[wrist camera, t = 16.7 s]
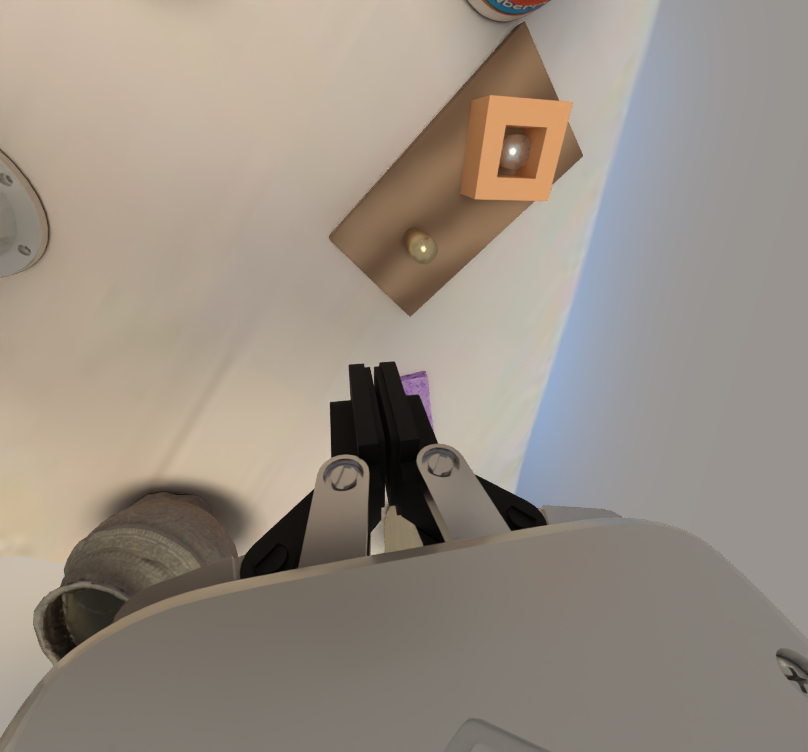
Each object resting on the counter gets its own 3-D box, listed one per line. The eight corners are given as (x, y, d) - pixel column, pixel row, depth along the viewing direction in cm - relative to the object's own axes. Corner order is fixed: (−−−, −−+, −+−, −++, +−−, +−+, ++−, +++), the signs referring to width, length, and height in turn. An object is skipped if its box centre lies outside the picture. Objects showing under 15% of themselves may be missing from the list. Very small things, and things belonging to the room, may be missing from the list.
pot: (261, 542, 61) (228, 743, 40) (130, 559, 56) (21, 791, 36) (239, 465, 49) (177, 691, 29) (73, 479, 45) (-133, 754, 25)
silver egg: (484, 150, 31) (497, 151, 28) (506, 127, 30) (521, 126, 28) (498, 173, 32) (512, 176, 30) (519, 152, 31) (535, 153, 29)
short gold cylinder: (398, 239, 34) (406, 251, 30) (415, 221, 33) (426, 231, 30) (413, 256, 35) (423, 270, 31) (430, 239, 34) (443, 251, 31)
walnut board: (329, 235, 34) (329, 239, 33) (516, 26, 27) (524, 21, 26) (407, 311, 40) (410, 316, 39) (574, 155, 34) (583, 155, 33)
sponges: (424, 368, 46) (427, 376, 44) (432, 432, 53) (435, 441, 52) (374, 379, 46) (375, 387, 44) (389, 442, 53) (391, 451, 51)
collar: (471, 100, 28) (489, 95, 25) (546, 106, 30) (572, 102, 26) (460, 193, 32) (474, 199, 29) (526, 195, 34) (547, 201, 30)
